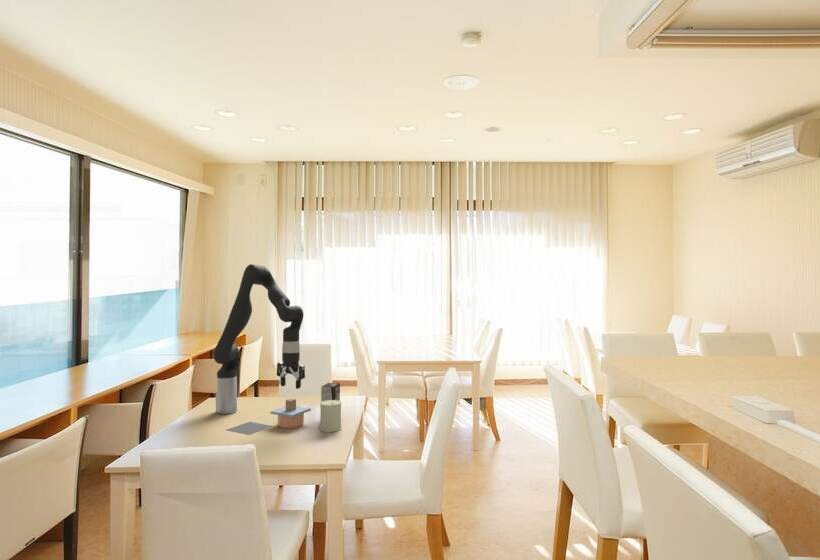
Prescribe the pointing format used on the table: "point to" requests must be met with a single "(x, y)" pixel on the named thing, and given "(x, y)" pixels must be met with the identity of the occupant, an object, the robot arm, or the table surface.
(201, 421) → the table surface
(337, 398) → the coffee box
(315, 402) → the table surface
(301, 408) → the lid
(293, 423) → the bowl
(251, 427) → the mat
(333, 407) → the can
